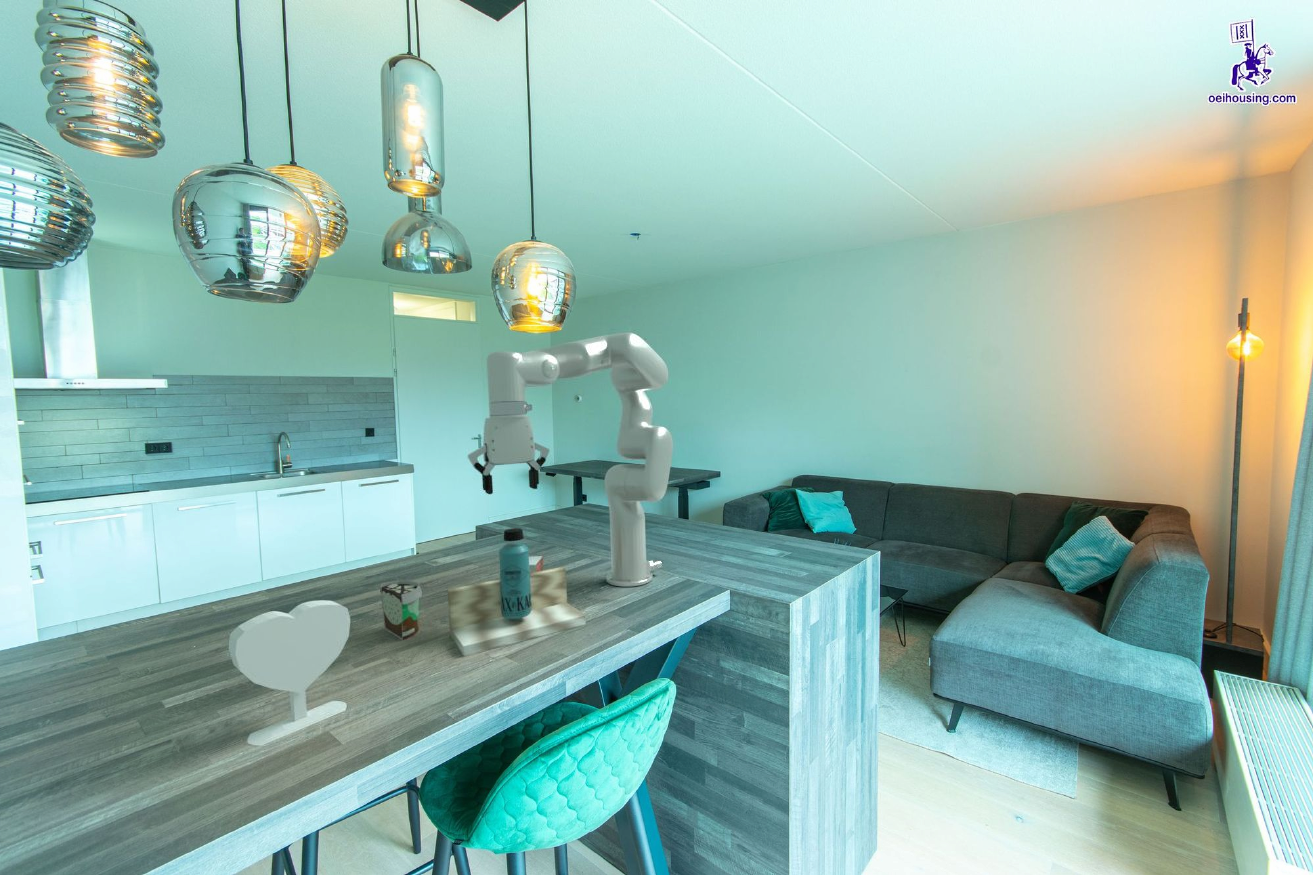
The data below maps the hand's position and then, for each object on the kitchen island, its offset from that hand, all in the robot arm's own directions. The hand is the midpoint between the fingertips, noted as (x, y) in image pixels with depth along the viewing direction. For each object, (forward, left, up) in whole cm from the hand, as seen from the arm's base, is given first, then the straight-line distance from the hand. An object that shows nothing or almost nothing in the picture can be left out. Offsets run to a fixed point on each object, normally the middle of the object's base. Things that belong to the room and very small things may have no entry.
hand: (511, 490), depth 119 cm
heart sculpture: (+40, +15, -31) cm, 52 cm away
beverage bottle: (0, 0, -28) cm, 28 cm away
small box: (-8, -14, -31) cm, 35 cm away
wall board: (0, +2, -30) cm, 30 cm away
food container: (+20, -14, -31) cm, 39 cm away
